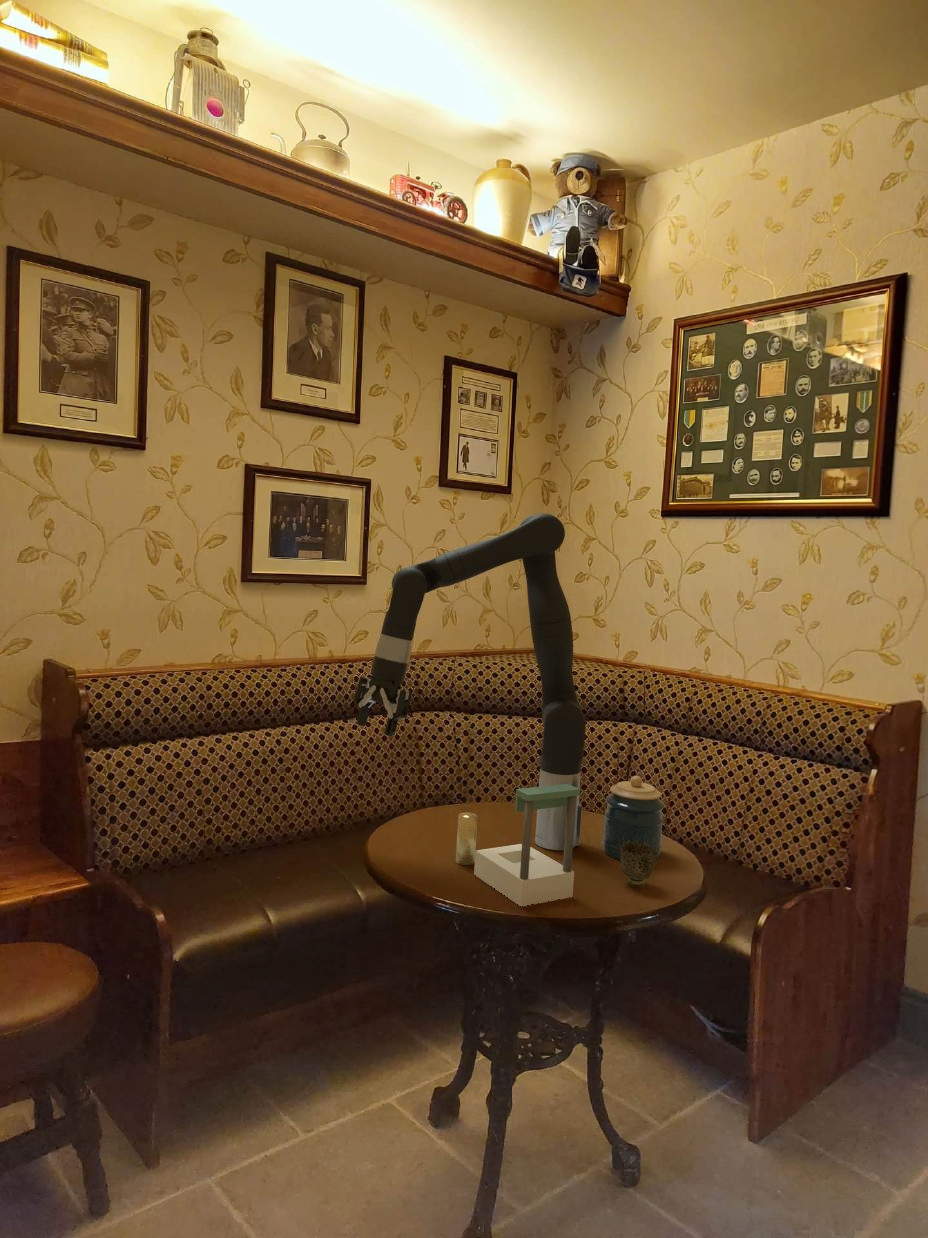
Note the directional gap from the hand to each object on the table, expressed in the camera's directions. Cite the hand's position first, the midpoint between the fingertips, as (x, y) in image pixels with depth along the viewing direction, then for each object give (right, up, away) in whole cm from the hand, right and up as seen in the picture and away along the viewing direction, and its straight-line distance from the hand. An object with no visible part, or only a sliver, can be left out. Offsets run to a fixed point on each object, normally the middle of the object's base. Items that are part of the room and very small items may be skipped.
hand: (374, 730), depth 182 cm
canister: (+57, -29, +7) cm, 64 cm away
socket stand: (+31, -29, -16) cm, 45 cm away
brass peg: (+20, -27, -5) cm, 34 cm away
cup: (+54, -30, -12) cm, 63 cm away
